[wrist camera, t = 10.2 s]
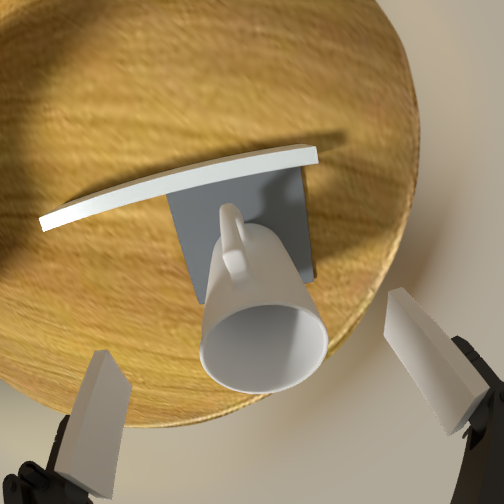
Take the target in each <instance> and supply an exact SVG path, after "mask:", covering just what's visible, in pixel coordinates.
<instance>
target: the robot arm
mask: <svg viewBox="0 0 504 504" xmlns="http://www.w3.org/2000/svg"><path fill="white" fill-rule="evenodd" d="M384 337H385V338H386V340H387V341H388V343H389V344H390V346H391V347H392V349H393V350H394V352H395V353H396V354H397V356H398V357H399V359H400V360H401V362H402V363H403V365H404V366H405V368H406V369H407V371H408V373H409V374H410V376H411V377H412V379H413V380H414V382H415V383H416V385H417V387H418V388H419V390H420V391H421V392H422V394H423V396H424V398H425V399H426V401H427V402H428V404H429V406H430V407H431V409H432V411H433V412H434V414H435V415H436V417H437V419H438V420H439V422H440V424H441V425H442V427H443V429H444V431H445V432H446V434H447V436H450V435H452V434H453V433H455V432H457V431H458V430H460V429H461V428H463V426H464V425H465V424H466V422H467V421H469V422H470V424H471V425H470V426H469V428H468V429H467V430H466V432H465V433H464V434H463V437H462V438H465V437H466V435H467V434H468V437H467V443H466V448H465V452H464V457H463V462H462V465H461V469H460V473H459V477H458V481H457V484H456V488H455V491H454V494H453V497H452V500H451V503H450V504H504V382H502V381H501V380H500V379H499V378H498V377H497V375H496V374H495V373H494V372H493V370H492V369H491V368H490V367H489V366H488V364H487V363H486V362H485V361H484V360H483V358H482V357H480V355H479V354H478V353H477V352H476V351H475V350H474V348H473V347H472V346H471V345H470V344H469V343H468V341H466V340H464V339H463V338H461V337H459V336H455V337H453V338H451V339H450V338H449V337H448V336H447V335H446V333H444V331H443V330H442V329H441V328H440V327H439V326H438V324H437V323H436V322H435V321H434V320H433V319H432V318H431V317H430V316H429V315H428V314H427V313H426V311H425V310H424V309H423V308H422V307H421V306H420V305H419V304H418V303H417V302H416V301H415V300H414V299H413V298H412V297H411V296H410V295H409V294H408V292H407V291H406V290H405V289H403V287H401V288H398V289H395V290H391V291H389V293H388V303H387V312H386V321H385V328H384ZM131 390H132V386H131V384H130V383H129V382H128V380H127V379H126V377H125V376H124V374H123V373H122V371H121V370H120V368H119V367H118V365H117V364H116V362H115V361H114V359H113V357H112V356H111V354H110V353H109V351H108V350H99V351H95V352H94V354H93V357H92V359H91V362H90V364H89V367H88V369H87V371H86V374H85V377H84V379H83V382H82V384H81V387H80V390H79V392H78V395H77V398H76V400H75V403H74V406H73V409H72V412H71V415H66V416H65V417H64V418H63V420H62V421H61V422H60V424H59V427H58V430H57V435H56V437H55V442H54V443H53V446H52V450H51V453H50V456H49V460H48V463H47V467H46V470H44V469H43V468H41V467H40V466H39V465H37V464H36V463H35V462H33V461H26V462H24V463H23V464H22V465H21V467H20V468H19V471H18V476H16V475H14V474H9V475H7V476H6V477H5V478H4V481H3V497H4V504H93V502H92V501H91V500H90V498H88V494H89V493H90V494H91V495H93V496H95V497H97V498H101V499H106V500H112V494H113V487H114V480H115V473H116V467H117V460H118V454H119V449H120V443H121V437H122V432H123V427H124V422H125V417H126V413H127V408H128V403H129V399H130V394H131Z"/></svg>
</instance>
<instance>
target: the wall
mask: <svg viewBox="0 0 504 504" xmlns="http://www.w3.org/2000/svg"><path fill="white" fill-rule="evenodd" d="M317 163H318V156H317V149H316V146H312V145H307V144H302V143H301V144H294V145H288V146H281V147H275V148H269V149H263V150H258V151H252V152H247V153H242V154H237V155H232V156H227V157H222V158H218V159H213V160H209V161H204V162H200V163H196V164H192V165H187V166H183V167H179V168H176V169H172V170H168V171H164V172H160V173H157V174H153V175H150V176H146V177H143V178H139V179H136V180H133V181H129V182H126V183H123V184H120V185H117V186H113V187H110V188H107V189H104V190H101V191H98V192H95V193H92V194H90V195H87V196H84V197H81V198H78V199H76V200H73V201H70V202H68V203H65V204H62V205H60V206H59V207H57V208H55V209H53V210H52V211H50V212H48V213H47V214H45V215H43V216H41V217H40V218H39V220H40V223H41V226H42V229H43V232H44V231H46V230H49V229H52V228H55V227H58V226H60V225H63V224H66V223H69V222H72V221H75V220H78V219H81V218H84V217H87V216H90V215H94V214H97V213H100V212H103V211H106V210H110V209H113V208H116V207H120V206H123V205H127V204H130V203H134V202H137V201H141V200H144V199H148V198H152V197H156V196H159V195H163V194H167V193H171V192H175V191H179V190H183V189H187V188H192V187H196V186H200V185H204V184H209V183H213V182H218V181H223V180H227V179H232V178H237V177H242V176H247V175H252V174H257V173H263V172H268V171H274V170H279V169H285V168H291V167H297V166H304V165H310V164H317Z"/></svg>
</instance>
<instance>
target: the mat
mask: <svg viewBox="0 0 504 504" xmlns="http://www.w3.org/2000/svg"><path fill="white" fill-rule="evenodd" d="M166 195H167V199H168V203H169V206H170V210H171V214H172V217H173V221H174V224H175V228H176V231H177V235H178V238H179V241H180V245H181V248H182V251H183V255H184V258H185V261H186V264H187V268H188V271H189V274H190V277H191V280H192V283H193V286H194V289H195V292H196V295H197V298H198V301H199V304H205V300H206V293H207V286H208V279H209V273H210V265H211V260H212V254H213V250H214V246H215V244H216V242H217V240H218V239H219V238H220V236H221V231H220V207H221V206H222V205H223V204H226V203H231V204H233V205H235V206H236V207H237V208H238V209H239V210H240V212H241V214H242V218H243V221H244V224H245V223H254V224H259V225H262V226H265V227H267V228H269V229H270V230H272V231H273V232H274V233H275V234H276V235H277V236H278V237H279V239H280V240H281V242H282V244H283V246H284V247H285V249H286V251H287V252H288V254H289V256H290V258H291V260H292V262H293V264H294V266H295V267H296V269H297V271H298V273H299V275H300V277H301V279H302V281H303V283H304V284H305V283H309V282H314V275H313V265H312V255H311V246H310V236H309V228H308V219H307V211H306V204H305V196H304V189H303V182H302V175H301V168H300V166H297V167H291V168H285V169H279V170H274V171H268V172H263V173H257V174H252V175H247V176H242V177H237V178H232V179H227V180H223V181H218V182H213V183H209V184H204V185H200V186H196V187H192V188H187V189H183V190H179V191H175V192H171V193H167V194H166Z"/></svg>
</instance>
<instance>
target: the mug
mask: <svg viewBox="0 0 504 504" xmlns="http://www.w3.org/2000/svg"><path fill="white" fill-rule="evenodd" d="M220 231H221V236H220V238H219V239H218V240H217V242H216V244H215V246H214V250H213V254H212V260H211V265H210V273H209V279H208V286H207V293H206V300H205V307H204V314H203V322H202V333H201V343H200V350H199V353H200V360H201V363H202V365H203V367H204V369H205V371H206V372H207V373H208V375H209V376H210V377H211V378H212V379H214V380H215V381H216V382H218V383H219V384H221V385H222V386H224V387H226V388H229V389H231V390H234V391H238V392H243V393H250V394H266V393H273V392H278V391H282V390H285V389H288V388H290V387H292V386H295V385H297V384H299V383H300V382H302V381H304V380H305V379H306V378H308V377H309V376H310V375H311V374H312V373H314V372H315V371H316V369H317V368H318V367H319V366H320V364H321V363H322V361H323V360H324V358H325V355H326V353H327V349H328V342H329V340H328V333H327V330H326V327H325V325H324V323H323V322H322V319H321V317H320V315H319V312H318V310H317V308H316V306H315V304H314V302H313V300H312V298H311V296H310V294H309V292H308V290H307V288H306V286H305V285H304V283H303V281H302V279H301V277H300V275H299V273H298V271H297V269H296V267H295V266H294V264H293V262H292V260H291V258H290V256H289V254H288V252H287V251H286V249H285V247H284V246H283V244H282V242H281V240H280V239H279V237H278V236H277V235H276V234H275V233H274V232H273V231H272V230H270V229H269V228H267V227H265V226H262V225H259V224H254V223H245V224H244V221H243V218H242V214H241V212H240V210H239V209H238V208H237V207H236V206H235V205H233V204H231V203H226V204H223V205H222V206H221V207H220Z"/></svg>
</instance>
